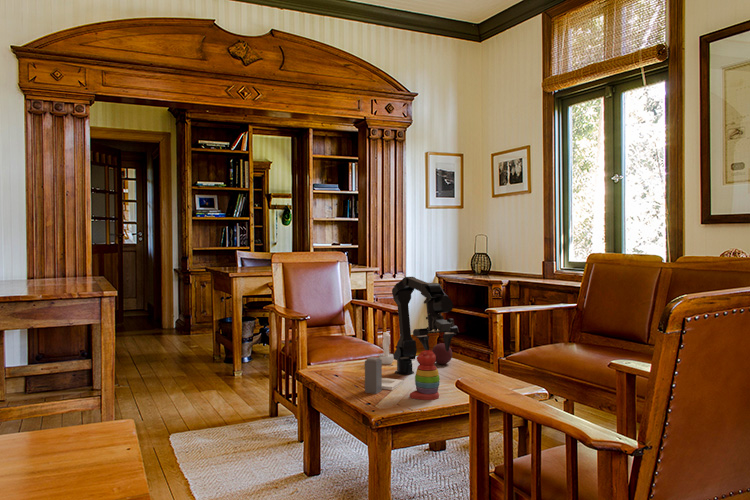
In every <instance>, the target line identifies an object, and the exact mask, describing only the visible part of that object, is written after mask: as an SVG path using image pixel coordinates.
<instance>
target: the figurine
mask: <svg viewBox="0 0 750 500" xmlns="http://www.w3.org/2000/svg"><path fill="white" fill-rule="evenodd" d="M382 336H383V337H382V349H383V354H382V353H380V354H377V355H378V356H377V357H379V358H380V359H382V365H392V364H393V362H394V361H395V359H394V356H393V354H394V353H390V345H391V335H390V332H388V331H387V332H384V331H383V334H382Z"/></svg>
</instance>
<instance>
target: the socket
mask: <svg viewBox="0 0 750 500" xmlns="http://www.w3.org/2000/svg"><path fill="white" fill-rule="evenodd" d="M403 384H404V379H396V378H389V377H382V390H389V391H393V390H394V389H397V387H400V386H401V385H403Z"/></svg>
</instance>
